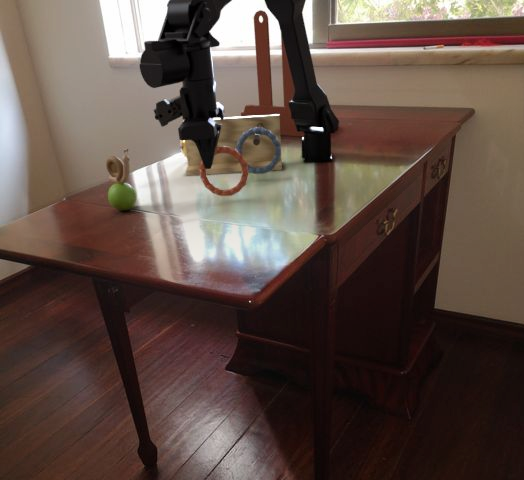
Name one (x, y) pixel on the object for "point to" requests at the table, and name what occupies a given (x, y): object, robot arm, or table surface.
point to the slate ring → (275, 142)
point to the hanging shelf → (265, 80)
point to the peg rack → (253, 150)
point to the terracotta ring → (243, 178)
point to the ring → (183, 147)
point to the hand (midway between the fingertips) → (208, 167)
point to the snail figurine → (120, 183)
